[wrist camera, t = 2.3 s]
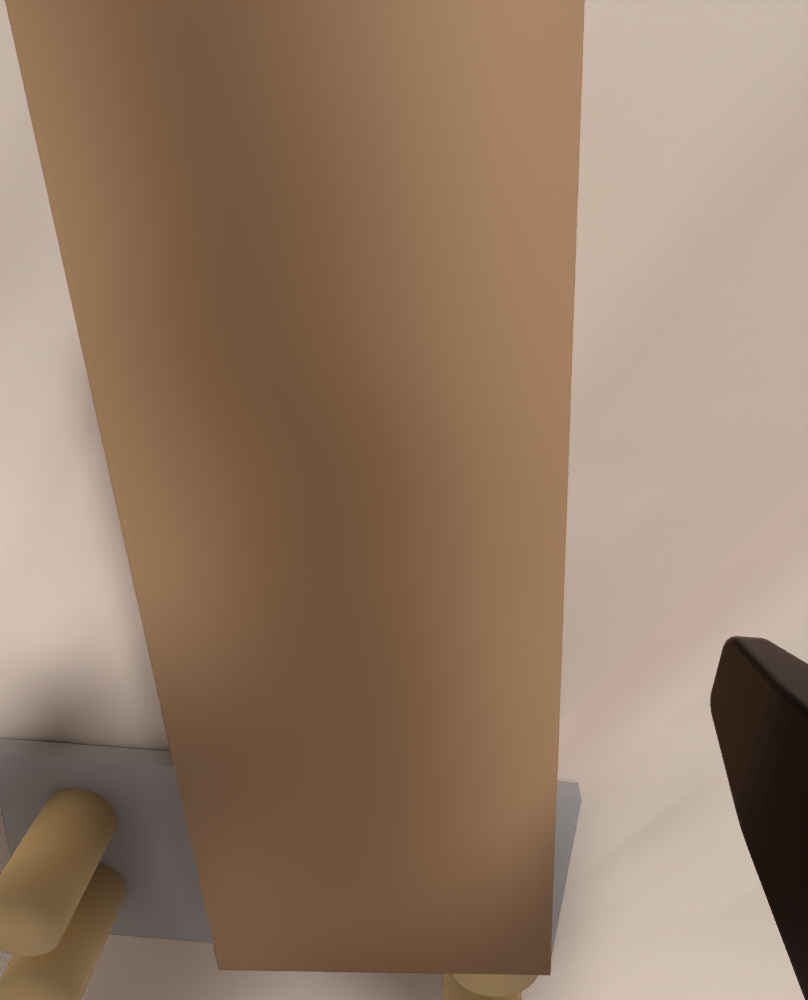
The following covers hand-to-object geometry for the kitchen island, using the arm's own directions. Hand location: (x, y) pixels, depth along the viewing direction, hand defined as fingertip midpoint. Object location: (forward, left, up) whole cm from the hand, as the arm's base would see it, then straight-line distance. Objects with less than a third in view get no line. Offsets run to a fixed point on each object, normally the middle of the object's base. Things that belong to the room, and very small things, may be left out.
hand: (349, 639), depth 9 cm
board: (0, 0, -7) cm, 7 cm away
